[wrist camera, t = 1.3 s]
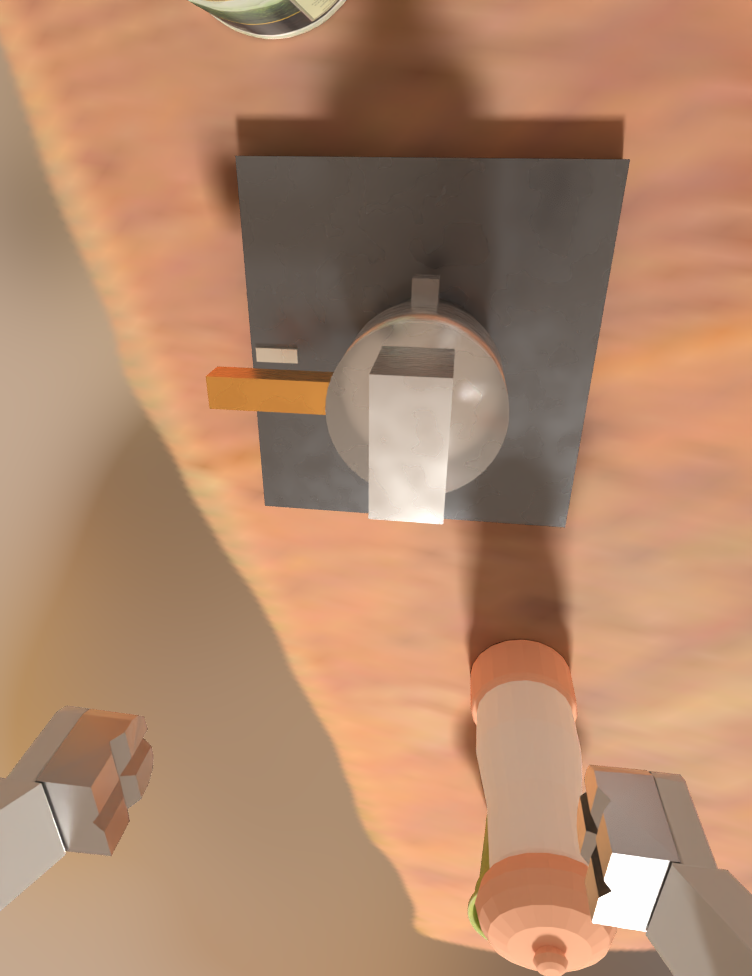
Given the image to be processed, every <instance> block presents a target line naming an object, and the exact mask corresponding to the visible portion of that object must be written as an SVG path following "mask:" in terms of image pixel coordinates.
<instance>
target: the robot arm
mask: <svg viewBox="0 0 752 976" xmlns="http://www.w3.org/2000/svg"><path fill="white" fill-rule="evenodd" d="M147 730H148V728H147V725H146V722H145V717H144V716H139V715H132V714H125V713H118V712H110V711H104V710H97V709H88V708H80V707H73V706H65V707H63V708H62V709H60V710H59V711H57V712H56V714H55V715H54V716H53V717H52V719H51V720H50V721H49V723H48V724H47V725H46V727H45V728H44V729H43V730H42V732H41V733H40V734H39V736H38V737H37V738H36V740H35V741H34V742H33V744H32V745H31V746H30V748H29V749H28V750H27V751H26V753H25V754H24V755H23V757H22V758H21V759H20V760H19V762H18V763H17V764H16V766H15V767H14V768H13V770H12V771H11V772H10V773H9V775H8V776H7V777H6V778H0V911H1V910H2V909H3V908H4V907H5V906H7V905H8V904H9V903H10V902H11V901H12V900H13V899H15V898H16V897H17V896H18V895H19V894H21V893H22V892H23V891H24V890H25V889H26V888H27V887H29V886H30V885H31V884H32V883H33V882H34V881H35V880H37V879H38V878H39V877H40V876H41V875H43V874H44V873H45V872H46V871H47V870H48V869H49V868H50V867H52V866H53V865H54V864H55V863H56V862H57V861H59V860H60V859H61V858H62V857H63V856H64V855H66V852H65V851H69V852H78V853H87V854H98V855H106V856H112V854H113V852H114V850H115V848H116V846H117V844H118V842H119V840H120V839H121V837H122V835H123V833H124V831H125V829H126V827H127V825H128V823H129V821H130V820H129V815H128V808H129V807H131V806H132V805H133V804H135V803H136V802H137V801H139V800H140V799H141V798H142V796H143V794H144V792H145V790H146V788H147V786H148V784H149V780H150V777H151V773H152V769H153V751H152V747H151V745H150V744H149V743H148V742H147V741H146V740H145V739H144V738H143V737H144V735H145V733H146V731H147ZM584 782H585V787H586V792H585V793H584V794H582V795H581V796H580V798H579V803H578V808H577V836H578V844H579V850H580V855H581V856H582V857H583V859H584V860H585V861H586V862H587V864H588V865H589V866H588V870H587V874H586V878H585V886H586V892H587V897H588V903H589V908H590V914H591V920H592V923H597V924H603V925H609V926H615V927H621V928H627V929H633V930H638V931H644V932H646V936H647V937H648V939H649V940H650V942H651V943H652V945H653V946H654V948H655V949H656V950H657V952H658V953H659V955H660V956H661V958H662V959H663V961H664V962H665V963H666V965H667V966H668V968H669V969H670V971H671V972H672V974H673V975H674V976H752V894H751V893H750V892H749V891H748V890H747V889H746V888H745V887H744V886H743V885H742V884H741V883H740V882H739V881H738V880H737V879H736V878H735V877H734V876H733V875H732V874H731V873H730V872H729V871H728V870H724V869H718V867H717V865H716V862H715V859H714V857H713V854H712V851H711V849H710V846H709V843H708V841H707V838H706V835H705V833H704V830H703V827H702V824H701V822H700V819H699V816H698V814H697V811H696V808H695V806H694V803H693V800H692V798H691V795H690V792H689V790H688V787H687V784H686V781H685V780H684V779H683V777H682V776H681V775H679V774H670V773H661V772H652V771H649V772H648V771H647V770H638V769H628V768H618V767H608V766H598V765H589V766H588V768H587V769H586V773H585V777H584Z"/></svg>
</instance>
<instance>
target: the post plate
mask: <svg viewBox="0 0 752 976" xmlns="http://www.w3.org/2000/svg"><path fill="white" fill-rule="evenodd" d="M235 157H236V168H237V180H238V192H239V204H240V216H241V227H242V239H243V251H244V263H245V275H246V287H247V298H248V310H249V322H250V334H251V346H252V357H253V368H258V369H279V370H300V371H321V372H334V371H335V369H336V367H337V365H338V364H339V362H340V361H341V359H342V358H343V356H344V354H345V353H346V351H347V350H348V348H349V347H350V345H351V344H352V342H353V340H354V339H355V337H356V336H357V335H358V333H359V332H360V330H361V329H362V328H363V327H364V326H365V325H366V324H367V323H368V322H369V321H370V320H371V319H372V318H374V317H375V316H376V315H378V314H380V313H381V312H383V311H384V310H386V309H389V308H391V307H393V306H396V305H399V304H402V303H407V302H411V297H412V277H413V275H414V274H428V275H440V286H439V302H440V303H444V304H448V305H451V306H453V307H456V308H458V309H460V310H462V311H464V312H465V313H467V314H469V315H470V316H471V317H473V318H474V319H475V320H477V321H478V322H479V323H480V324H481V325H482V326H483V327H484V328H485V330H486V331H487V332H488V334H489V335H490V336H491V338H492V340H493V341H494V343H495V345H496V347H497V350H498V352H499V355H500V358H501V362H502V366H503V372H504V377H505V383H506V388H507V393H508V400H509V423H508V428H507V433H506V436H505V439H504V442H503V444H502V446H501V448H500V450H499V452H498V454H497V455H496V457H495V458H494V460H493V461H492V463H491V464H490V465H489V466H488V467H487V468H486V469H485V470H484V471H483V472H482V473H481V474H480V475H479V476H477V477H476V478H475V479H473V480H472V481H470V482H469V483H467V484H466V485H464V486H462V487H460V488H458V489H456V490H453V491H450V492H447V493H445V505H444V519H456V520H470V521H484V522H498V523H511V524H525V525H539V526H553V527H565V525H566V519H567V514H568V508H569V502H570V497H571V491H572V485H573V480H574V474H575V468H576V463H577V457H578V451H579V446H580V440H581V434H582V429H583V423H584V417H585V412H586V406H587V400H588V395H589V389H590V383H591V378H592V372H593V366H594V361H595V355H596V349H597V344H598V338H599V332H600V327H601V321H602V315H603V310H604V304H605V298H606V293H607V287H608V281H609V276H610V270H611V264H612V259H613V253H614V247H615V242H616V236H617V230H618V225H619V219H620V213H621V208H622V202H623V196H624V191H625V185H626V179H627V174H628V168H629V162H630V159H525V158H415V157H304V156H235ZM257 417H258V428H259V440H260V452H261V464H262V476H263V487H264V499H265V506H276V507H290V508H304V509H318V510H332V511H346V512H359V513H369V483H368V482H367V481H365V480H364V479H362V478H361V477H360V476H358V475H357V474H356V473H355V472H354V471H353V470H352V469H351V468H350V467H349V466H348V465H347V464H346V463H345V462H344V460H343V459H342V458H341V456H340V455H339V453H338V452H337V450H336V448H335V446H334V444H333V442H332V439H331V437H330V434H329V431H328V426H327V422H326V415H317V414H299V413H281V412H262V411H257Z"/></svg>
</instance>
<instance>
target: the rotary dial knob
mask: <svg viewBox="0 0 752 976" xmlns="http://www.w3.org/2000/svg"><path fill="white" fill-rule="evenodd" d="M439 286H440V275H428V274H414V275H413V277H412V297H411V302H407V303H402V304H399V305H396V306H393V307H391V308H389V309H386V310H384V311H383V312H381V313H380V314H378V315H376V316H375V317H374V318H372V319H371V320H370V321H369V322H368V323H367V324H366V325H365V326H364V327H363V328H362V329H361V330H360V332H359V333H358V335H357V336H356V337H355V339H354V340H353V342H352V344H351V345H350V347H349V348H348V350H347V351H346V353H345V354H344V356H343V358H342V359H341V361H340V362H339V364H338V365H337V367H336V369H335V371H334V372H321V371H300V370H279V369H258V368H237V367H217V368H215V369H214V370H213V371H212V372H210V373H209V374H208V375H207V376H206V383H207V391H208V399H209V407H210V409H226V410H244V411H262V412H281V413H299V414H317V415H326V422H327V426H328V431H329V434H330V437H331V439H332V442H333V444H334V446H335V448H336V450H337V452H338V453H339V455H340V456H341V458H342V459H343V460H344V462H345V463H346V464H347V465H348V466H349V467H350V468H351V469H352V470H353V471H354V472H355V473H356V474H357V475H358V476H360V477H361V478H362V479H364V480H365V481H367V482H368V483H369V519H378V520H392V521H405V522H419V523H432V524H443V519H444V505H445V493H447V492H450V491H453V490H456V489H458V488H460V487H462V486H464V485H466V484H467V483H469V482H470V481H472V480H473V479H475V478H476V477H477V476H479V475H480V474H481V473H482V472H483V471H484V470H485V469H486V468H487V467H488V466H489V465H490V464H491V463H492V461H493V460H494V458H495V457H496V455H497V454H498V452H499V450H500V448H501V446H502V444H503V442H504V439H505V436H506V433H507V428H508V423H509V400H508V393H507V388H506V383H505V377H504V372H503V366H502V362H501V358H500V355H499V352H498V350H497V347H496V345H495V343H494V341H493V340H492V338H491V336H490V335H489V334H488V332H487V331H486V330H485V328H484V327H483V326H482V325H481V324H480V323H479V322H478V321H477V320H475V319H474V318H473V317H471V316H470V315H469V314H467V313H465V312H464V311H462V310H460V309H458V308H456V307H453V306H451V305H448V304H444V303H440V302H439Z"/></svg>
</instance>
